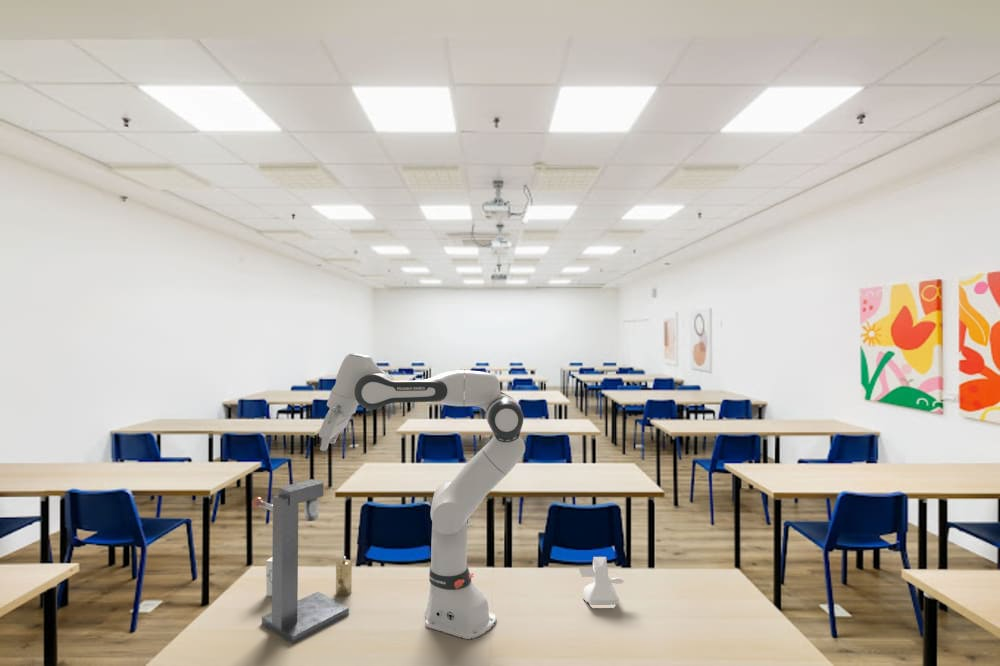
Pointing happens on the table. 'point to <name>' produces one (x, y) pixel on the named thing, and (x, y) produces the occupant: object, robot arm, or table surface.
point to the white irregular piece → (600, 584)
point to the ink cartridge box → (269, 576)
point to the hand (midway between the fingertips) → (327, 446)
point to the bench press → (295, 567)
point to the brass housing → (343, 577)
